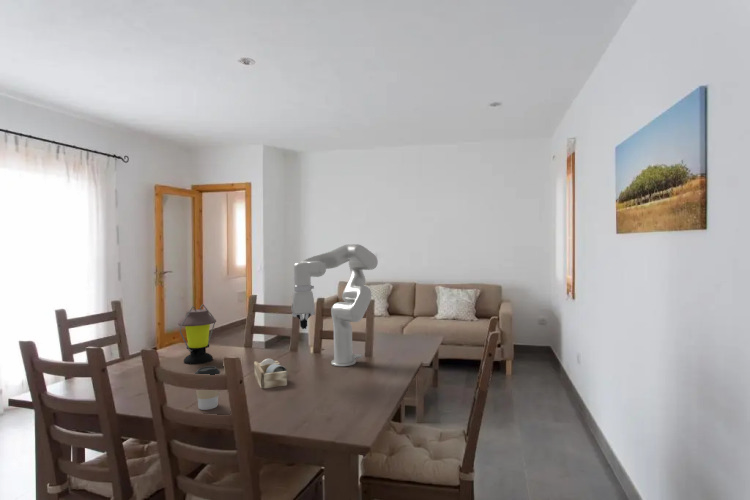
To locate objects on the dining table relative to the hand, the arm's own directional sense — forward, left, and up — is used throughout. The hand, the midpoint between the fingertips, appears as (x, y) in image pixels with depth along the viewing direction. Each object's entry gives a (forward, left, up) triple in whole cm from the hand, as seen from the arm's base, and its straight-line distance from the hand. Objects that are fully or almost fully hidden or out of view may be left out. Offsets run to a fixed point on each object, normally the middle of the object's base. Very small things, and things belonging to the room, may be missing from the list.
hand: (303, 328), depth 205 cm
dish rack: (+16, -2, -23) cm, 28 cm away
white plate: (+15, -9, -23) cm, 29 cm away
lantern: (+44, -56, -23) cm, 75 cm away
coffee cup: (+43, +20, -23) cm, 53 cm away
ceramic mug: (+14, +1, -23) cm, 27 cm away
